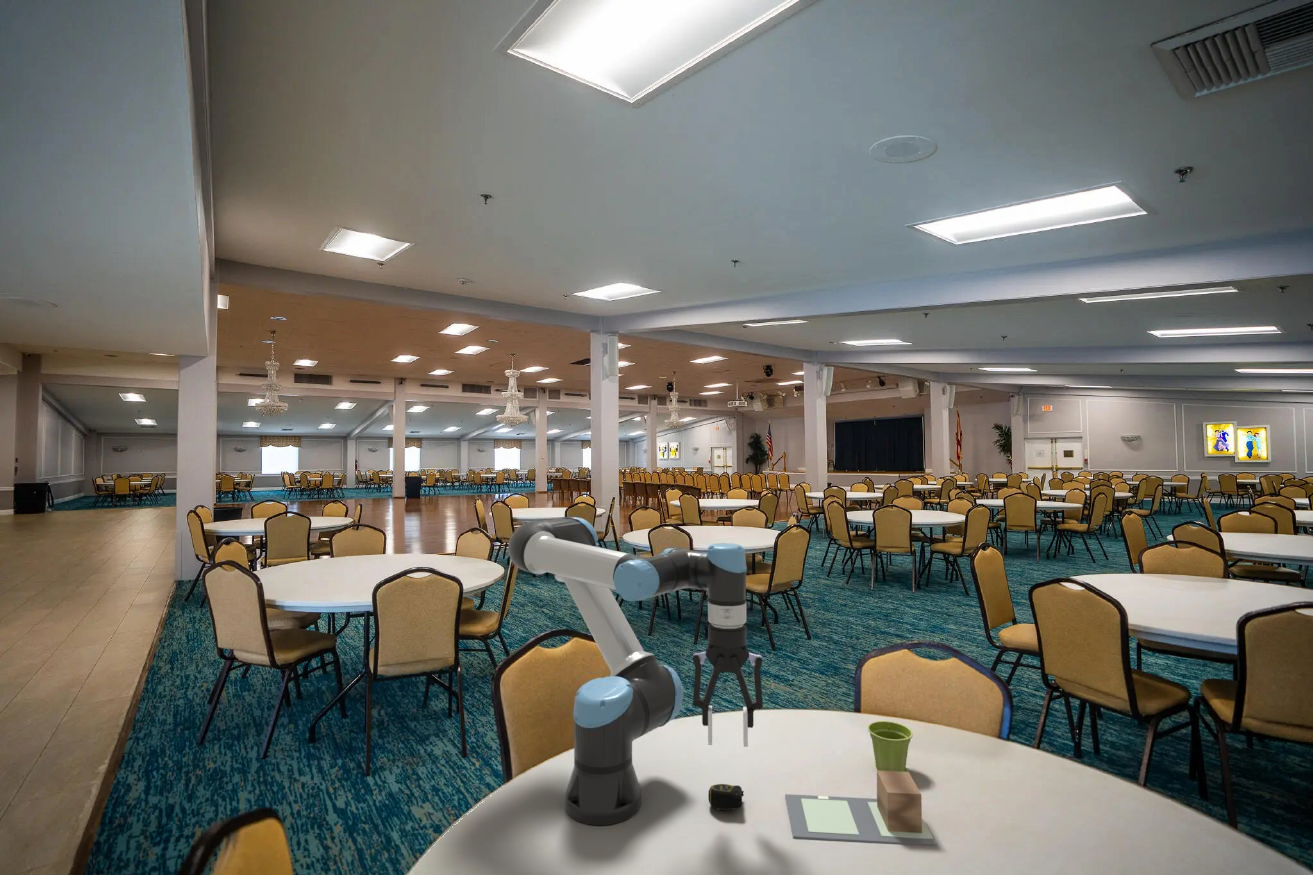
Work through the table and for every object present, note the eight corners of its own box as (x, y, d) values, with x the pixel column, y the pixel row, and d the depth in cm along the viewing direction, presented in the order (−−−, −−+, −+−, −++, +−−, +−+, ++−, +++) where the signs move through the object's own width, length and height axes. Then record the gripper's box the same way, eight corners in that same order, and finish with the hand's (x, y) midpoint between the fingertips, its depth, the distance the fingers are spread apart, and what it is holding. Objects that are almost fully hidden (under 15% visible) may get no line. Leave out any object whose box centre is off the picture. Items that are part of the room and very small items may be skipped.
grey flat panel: (793, 840, 112) (793, 835, 112) (785, 798, 126) (785, 793, 126) (936, 848, 110) (936, 843, 110) (912, 804, 124) (912, 799, 124)
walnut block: (888, 831, 114) (887, 792, 114) (877, 806, 122) (876, 770, 122) (922, 832, 113) (921, 794, 113) (908, 808, 121) (908, 771, 121)
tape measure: (742, 814, 118) (741, 792, 119) (707, 812, 120) (706, 791, 121) (744, 804, 125) (743, 783, 126) (710, 802, 126) (709, 782, 127)
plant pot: (920, 780, 133) (919, 739, 133) (876, 780, 133) (875, 739, 133) (903, 759, 142) (903, 720, 143) (862, 758, 143) (862, 720, 143)
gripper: (677, 627, 119) (677, 749, 118) (778, 630, 117) (779, 754, 116) (679, 617, 126) (680, 731, 126) (774, 619, 124) (775, 736, 124)
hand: (727, 742), depth 121 cm, fingers open, 6 cm apart
